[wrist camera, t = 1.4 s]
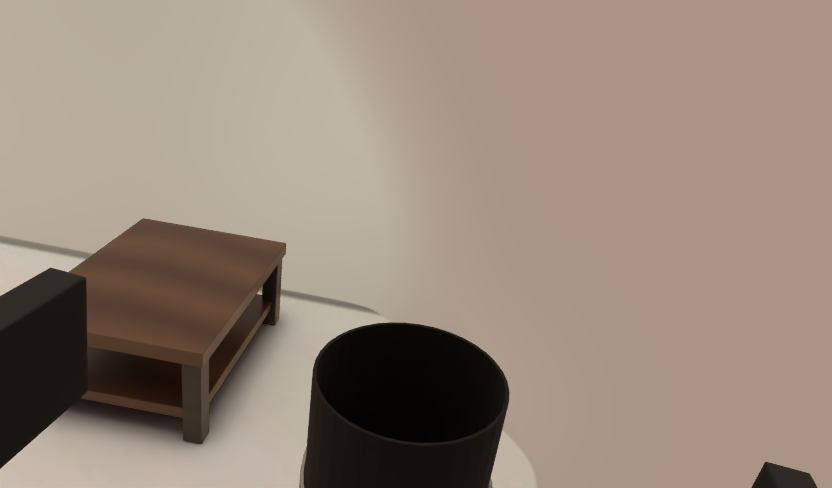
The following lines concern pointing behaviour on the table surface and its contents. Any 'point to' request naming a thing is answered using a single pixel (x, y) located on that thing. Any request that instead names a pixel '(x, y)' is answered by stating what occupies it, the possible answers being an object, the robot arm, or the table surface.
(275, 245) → the miniature coffee table
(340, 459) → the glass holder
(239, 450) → the table surface
